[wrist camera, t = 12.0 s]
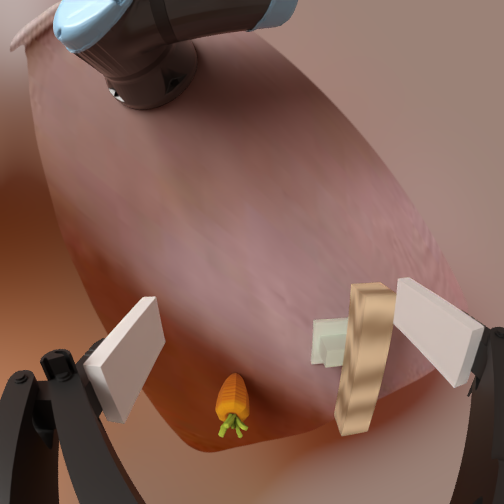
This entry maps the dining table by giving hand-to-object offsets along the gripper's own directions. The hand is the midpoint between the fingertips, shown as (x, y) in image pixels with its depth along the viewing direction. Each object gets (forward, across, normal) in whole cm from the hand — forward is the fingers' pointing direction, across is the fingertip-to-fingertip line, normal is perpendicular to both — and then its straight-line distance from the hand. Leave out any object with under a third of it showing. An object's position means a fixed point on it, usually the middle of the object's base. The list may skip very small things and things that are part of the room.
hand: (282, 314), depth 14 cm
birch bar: (+22, +13, -19) cm, 32 cm away
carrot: (+28, -6, -24) cm, 37 cm away
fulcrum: (+28, +13, -19) cm, 36 cm away
